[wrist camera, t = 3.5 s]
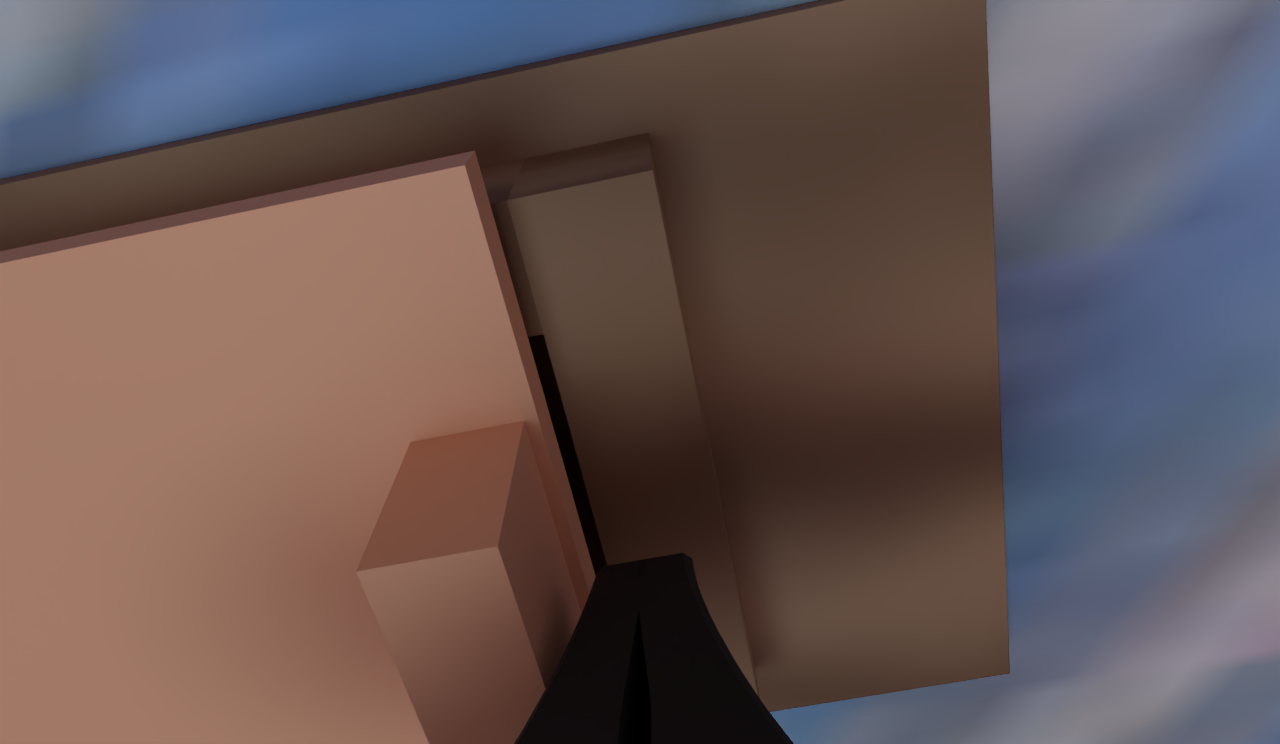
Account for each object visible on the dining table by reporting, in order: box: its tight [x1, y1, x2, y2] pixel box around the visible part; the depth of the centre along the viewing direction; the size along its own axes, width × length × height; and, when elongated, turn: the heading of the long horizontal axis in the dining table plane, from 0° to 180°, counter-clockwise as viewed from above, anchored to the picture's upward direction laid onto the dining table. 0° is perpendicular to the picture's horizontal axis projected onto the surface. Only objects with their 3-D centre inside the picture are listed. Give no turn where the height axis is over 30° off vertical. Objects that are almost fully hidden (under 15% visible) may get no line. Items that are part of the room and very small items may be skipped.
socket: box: [0, 0, 1010, 712], centre depth 16 cm, size 14×20×3 cm
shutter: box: [0, 151, 596, 744], centre depth 13 cm, size 13×11×4 cm
